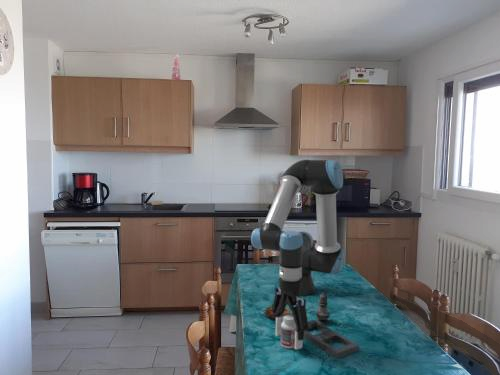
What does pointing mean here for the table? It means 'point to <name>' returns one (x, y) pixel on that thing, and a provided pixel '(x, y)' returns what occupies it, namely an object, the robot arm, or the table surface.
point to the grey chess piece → (323, 310)
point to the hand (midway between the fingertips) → (288, 341)
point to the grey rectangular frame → (330, 340)
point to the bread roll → (271, 315)
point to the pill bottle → (288, 332)
